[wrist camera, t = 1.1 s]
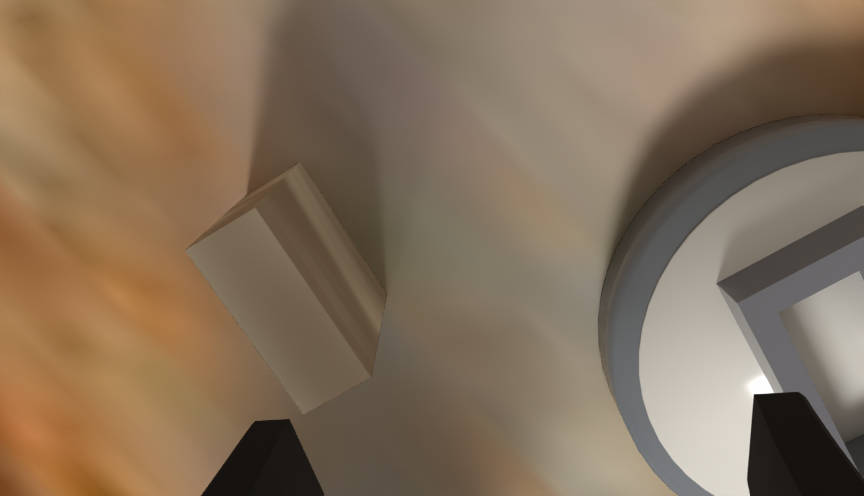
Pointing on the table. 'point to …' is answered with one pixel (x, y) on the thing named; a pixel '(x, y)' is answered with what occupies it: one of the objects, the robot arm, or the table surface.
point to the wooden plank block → (296, 287)
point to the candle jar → (741, 300)
